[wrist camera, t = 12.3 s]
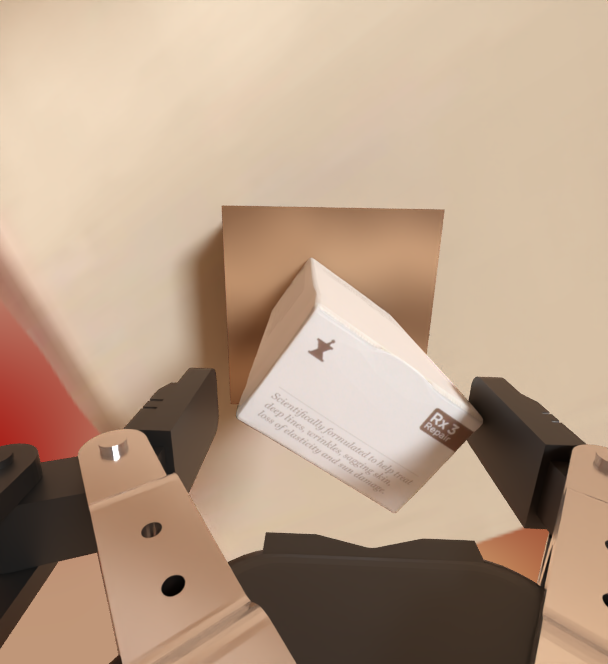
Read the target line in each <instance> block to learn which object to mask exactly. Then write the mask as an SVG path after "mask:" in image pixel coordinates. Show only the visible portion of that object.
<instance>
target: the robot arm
mask: <svg viewBox="0 0 608 664" xmlns="http://www.w3.org/2000/svg"><path fill="white" fill-rule="evenodd" d="M469 402H470V403H471V404H472V406H473V407H474V408H475V409H476V410H477V412H478V413H479V414H480V415H481V416H482V418H483V424H482V425H481V426H480V427H479V428H478V429H477V430H476V431H475V432H474V433H473V434H472V435H471V436H470V437H469V438H468V439H467V441H468V443H469V445H470V446H471V448H472V449H473V451H474V452H475V454H476V455H477V457H478V458H479V460H480V461H481V463H482V465H483V466H484V468H485V469H486V471H487V472H488V474H489V475H490V477H491V478H492V480H493V481H494V483H495V484H496V486H497V487H498V489H499V490H500V492H501V493H502V495H503V497H504V498H505V500H506V501H507V503H508V504H509V506H510V507H511V509H512V510H513V512H514V513H515V515H516V516H517V518H518V519H519V521H520V522H521V524H522V525H523V527H524V528H531V529H547V530H548V531H549V535H548V539H547V542H546V546H545V550H544V555H543V559H542V564H541V568H540V573H539V577H538V582H537V583H535V582H533V581H532V580H530V579H528V578H526V577H525V576H523V575H521V574H519V573H517V572H515V571H513V570H511V569H508V568H506V567H504V566H501V565H498V564H496V563H493V562H490V561H487V560H483V558H482V556H481V554H480V551H479V549H478V547H477V545H476V543H475V541H467V540H443V539H419V540H413V541H408V542H403V543H398V544H393V545H388V546H383V547H378V548H367V547H363V546H359V545H355V544H351V543H347V542H344V541H340V540H336V539H332V538H328V537H325V536H321V535H317V534H293V533H269V532H266V535H265V541H264V548H263V550H260V551H256V552H252V553H249V554H246V555H243V556H241V557H238V558H236V559H234V560H231V561H229V562H227V561H226V559H225V557H224V555H223V554H222V552H221V550H220V548H219V547H218V545H217V543H216V541H215V540H214V538H213V536H212V534H211V533H210V531H209V529H208V527H207V526H206V524H205V522H204V520H203V519H202V517H201V515H200V513H199V511H198V510H197V508H196V506H195V504H194V503H193V501H192V499H191V497H190V496H189V491H190V489H191V487H192V485H193V483H194V480H195V478H196V476H197V474H198V472H199V469H200V467H201V465H202V463H203V461H204V458H205V456H206V454H207V452H208V449H209V447H210V445H211V443H212V441H213V438H214V436H215V434H216V431H217V427H218V397H217V380H216V372H215V370H214V369H209V368H189V369H188V370H187V371H186V373H185V374H184V375H183V376H182V378H181V379H180V380H179V381H178V383H170V384H168V385H166V386H164V387H163V388H161V389H159V390H158V391H157V392H156V393H155V394H154V395H153V396H152V397H151V398H150V401H148V402H147V403H146V404H145V405H144V406H143V409H141V410H140V411H139V412H138V413H137V414H136V415H135V417H134V418H133V419H132V420H131V421H130V422H129V423H128V424H127V426H126V427H125V428H124V429H119V430H113V431H109V432H106V433H103V434H100V435H98V436H96V437H94V438H92V439H91V440H89V441H88V442H87V443H85V444H84V445H83V446H82V447H81V449H80V450H79V453H78V456H77V457H72V458H66V459H60V460H54V461H47V462H41V463H40V458H39V454H38V450H37V449H36V448H35V447H34V446H32V445H29V444H10V445H5V446H1V447H0V648H1V647H2V645H3V644H4V642H5V641H6V639H7V638H8V636H9V634H10V633H11V632H12V630H13V629H14V627H15V626H16V624H17V623H18V621H19V620H20V618H21V617H22V615H23V614H24V612H25V611H26V610H27V608H28V606H29V605H30V603H31V602H32V600H33V599H34V598H35V596H36V595H37V593H38V592H39V590H40V588H41V587H42V586H43V584H44V583H45V581H46V580H47V578H48V577H49V575H50V574H51V572H52V571H53V569H54V568H55V566H56V564H57V563H58V561H62V560H67V559H71V558H75V557H80V556H84V555H88V554H92V553H97V554H98V559H99V563H100V568H101V573H102V577H103V583H104V587H105V592H106V597H107V602H108V606H109V611H110V616H111V621H112V626H113V631H114V636H115V640H116V645H117V650H118V656H117V657H116V658H115V659H114V660H113V661H112V662H110V663H109V664H608V448H607V447H603V446H598V445H588V444H586V443H584V442H583V441H582V440H581V439H580V438H579V437H578V436H576V435H575V434H574V433H573V432H572V431H571V430H569V429H568V428H567V427H566V426H565V425H564V424H562V423H559V420H558V419H557V418H555V417H554V416H553V415H552V414H549V411H547V410H546V409H545V408H544V407H543V406H542V405H540V404H539V403H538V402H536V401H534V400H532V399H530V398H528V397H526V396H525V395H523V394H521V393H520V392H518V391H517V390H516V389H515V388H514V387H513V386H512V385H511V384H509V383H508V382H507V381H506V380H505V379H504V378H498V377H475V378H474V380H473V382H472V385H471V390H470V396H469Z"/></svg>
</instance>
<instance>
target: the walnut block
mask: <svg viewBox="0 0 608 664" xmlns="http://www.w3.org/2000/svg"><path fill="white" fill-rule="evenodd" d="M443 218H444V210H435V209H380V208H325V207H269V206H222V223H223V245H224V267H225V289H226V310H227V332H228V354H229V376H230V398H231V404H239V402H240V399H241V396H242V394H243V391H244V389H245V387H246V384H247V380H248V377H249V373H250V371H251V368H252V366H253V363H254V360H255V357H256V354H257V352H258V349H259V346H260V343H261V340H262V337H263V335H264V332H265V329H266V326H267V323H268V321H269V318H270V315H271V312H272V310H273V308H274V307H275V305H276V304H277V302H278V301H279V300H280V298H281V297H282V295H283V294H284V292H285V291H286V290H287V288H288V287H289V285H290V284H291V283H292V281H293V280H294V278H295V277H296V276H297V274H298V273H299V272H300V270H301V269H302V267H303V266H304V265H305V263H306V262H307V260H308V259H309V258H313V259H315V260H316V261H318V262H319V263H320V264H322V265H323V266H324V267H326V268H327V269H329V270H330V271H331V272H333V273H334V274H335V275H337V276H338V277H340V278H341V279H342V280H344V281H345V282H347V283H348V284H349V285H351V286H352V287H353V288H355V289H356V290H357V291H359V292H360V293H362V294H363V295H364V296H366V297H367V298H368V299H370V300H371V301H372V302H374V303H375V304H376V305H378V306H379V307H380V308H382V309H383V310H384V311H386V312H387V313H388V314H390V315H391V316H392V317H393V319H394V320H395V321H396V322H397V323H398V324H399V325H400V326H401V327H402V328H403V329H404V331H405V332H406V333H407V334H408V335H409V336H410V337H411V338H412V339H413V341H414V342H415V343H416V344H417V345H418V346H419V347H420V348H421V349H422V350H423V351H424V353H425V354H426V355H427V347H428V339H429V331H430V323H431V315H432V307H433V298H434V290H435V282H436V274H437V266H438V258H439V250H440V242H441V234H442V226H443Z"/></svg>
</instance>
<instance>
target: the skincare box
mask: <svg viewBox="0 0 608 664" xmlns="http://www.w3.org/2000/svg"><path fill="white" fill-rule="evenodd" d="M236 417H237V419H238V420H240V421H242V422H243V423H245V424H246V425H248V426H250V427H252V428H253V429H255V430H257V431H258V432H260V433H262V434H264V435H265V436H267V437H269V438H270V439H272V440H274V441H275V442H277V443H279V444H280V445H282V446H284V447H285V448H287V449H289V450H290V451H292V452H294V453H295V454H297V455H299V456H300V457H302V458H304V459H305V460H307V461H309V462H310V463H312V464H314V465H315V466H317V467H319V468H320V469H322V470H324V471H325V472H327V473H329V474H330V475H332V476H334V477H335V478H337V479H339V480H340V481H342V482H343V483H345V484H347V485H348V486H350V487H352V488H353V489H355V490H357V491H358V492H360V493H362V494H363V495H365V496H367V497H368V498H370V499H371V500H373V501H375V502H376V503H378V504H380V505H381V506H383V507H385V508H386V509H388V510H389V511H391V512H392V513H397V512H398V511H399V510H400V509H401V508H402V506H403V505H405V504H406V503H407V502H408V501H409V500H410V499H411V498H412V497H413V496H414V495H415V494H416V493H417V492H418V491H419V490H420V489H421V487H422V486H423V485H424V484H425V483H426V482H427V481H428V480H429V479H430V478H431V477H432V476H433V475H434V474H435V473H436V472H437V471H438V470H439V468H440V467H441V466H442V465H443V464H444V463H445V462H446V461H447V460H448V459H449V458H450V457H451V456H452V455H453V454H454V453H455V452H456V451H457V449H458V448H459V447H460V446H461V445H462V444H463V443H464V442H465V441H466V440H467V439H468V438H469V437H470V436H471V435H472V434H473V433H474V432H475V431H476V430H477V429H478V428H479V427H480V426H481V425H482V424H483V418H482V416H481V415H480V414H479V413H478V412H477V410H476V409H475V408H474V407H473V406H472V404H471V403H470V402H469V401H468V400H467V399H466V398H465V397H464V395H463V394H462V393H461V392H460V391H459V390H458V389H457V388H456V386H455V385H454V384H453V383H452V382H451V381H450V380H449V379H448V378H447V377H446V375H445V374H444V373H443V372H442V371H441V370H440V369H439V368H438V367H437V366H436V365H435V363H434V362H433V361H432V360H431V359H430V358H429V357H428V356H427V355H426V354H425V353H424V351H423V350H422V349H421V348H420V347H419V346H418V345H417V344H416V343H415V342H414V341H413V339H412V338H411V337H410V336H409V335H408V334H407V333H406V332H405V331H404V329H403V328H402V327H401V326H400V325H399V324H398V323H397V322H396V321H395V320H394V319H393V317H392V316H391V315H390V314H388V313H387V312H386V311H384V310H383V309H382V308H380V307H379V306H378V305H376V304H375V303H374V302H372V301H371V300H370V299H368V298H367V297H366V296H364V295H363V294H362V293H360V292H359V291H357V290H356V289H355V288H353V287H352V286H351V285H349V284H348V283H347V282H345V281H344V280H342V279H341V278H340V277H338V276H337V275H335V274H334V273H333V272H331V271H330V270H329V269H327V268H326V267H324V266H323V265H322V264H320V263H319V262H318V261H316V260H315V259H313V258H309V259H308V260H307V262H306V263H305V265H304V266H303V267H302V269H301V270H300V272H299V273H298V274H297V276H296V277H295V278H294V280H293V281H292V283H291V284H290V285H289V287H288V288H287V290H286V291H285V292H284V294H283V295H282V297H281V298H280V300H279V301H278V302H277V304H276V305H275V307H274V308H273V310H272V312H271V315H270V318H269V321H268V323H267V326H266V329H265V332H264V335H263V337H262V340H261V343H260V346H259V349H258V352H257V354H256V357H255V360H254V363H253V366H252V368H251V371H250V373H249V377H248V380H247V384H246V387H245V389H244V391H243V394H242V396H241V399H240V402H239V405H238V408H237V412H236Z"/></svg>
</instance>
